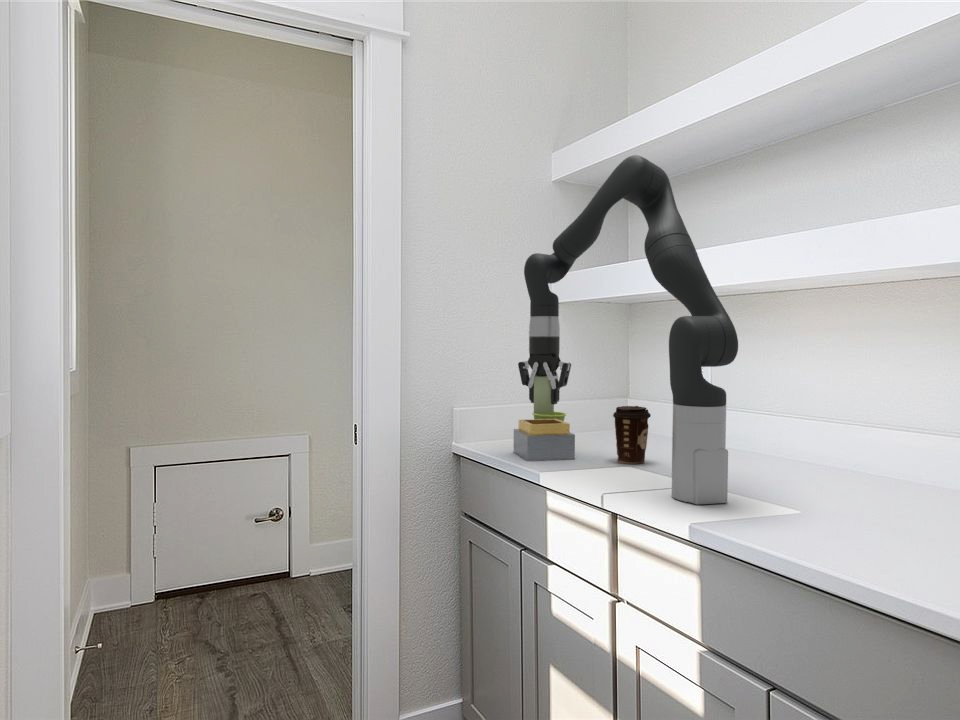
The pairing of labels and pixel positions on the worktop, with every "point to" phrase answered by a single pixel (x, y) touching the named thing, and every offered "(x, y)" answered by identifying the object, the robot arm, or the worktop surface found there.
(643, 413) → the coffee cup
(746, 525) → the worktop surface
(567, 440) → the open square metal box
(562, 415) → the plant pot
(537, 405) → the spout can
